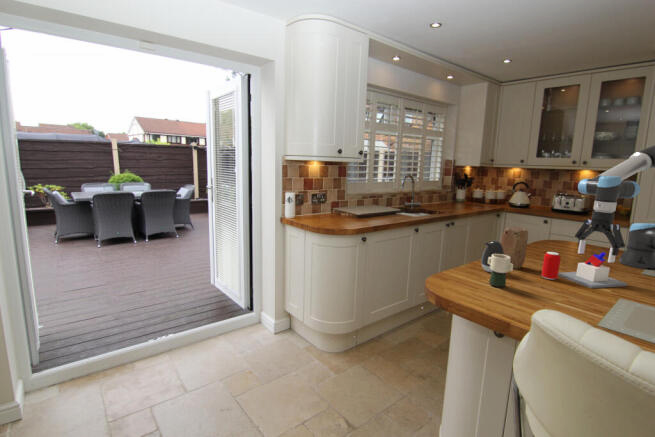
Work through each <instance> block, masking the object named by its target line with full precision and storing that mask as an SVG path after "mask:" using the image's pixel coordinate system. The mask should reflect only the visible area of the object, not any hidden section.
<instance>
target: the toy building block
mask: <svg viewBox="0 0 655 437" xmlns="http://www.w3.org/2000/svg"><path fill="white" fill-rule="evenodd" d="M606 255H607V254H606V252H604V251H602V252H601V253H599V254H597V253H596V254H592V255H591V256H590V257H589V258H588V259H587V260H586V261H585V262H584V263H585V264H593V265H594V266H596V267H598V266H601V265H602V266H603V264H604V263H605V262H606V259H604V257H605V256H606Z"/></svg>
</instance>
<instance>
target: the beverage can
mask: <svg viewBox="0 0 655 437" xmlns="http://www.w3.org/2000/svg"><path fill="white" fill-rule="evenodd" d="M560 266H561V255H560V254H559V253H558V252H556V251H555V252H554V251H547V252H546V253H545V254H544V256H543V263H542V270H541V277H543V278H544V279H546V280H550V281H551V280H552V281H553V280H554V281H555V280H556V279H558V277H559V276H558V273H559V269H560Z"/></svg>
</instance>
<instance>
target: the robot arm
mask: <svg viewBox="0 0 655 437" xmlns="http://www.w3.org/2000/svg"><path fill="white" fill-rule="evenodd" d="M654 168H655V144H654V145H651V146H648V147H645V148H642V149H641V150H639V151H636V152H634V153H633V154H631V155H630V156H629V158H628V159H626V160H624V161H622V162H621V163H619V164H617V165H615V166H613V167H611V168H610V169H608V170H605V171H604V172H602V173H600V174H598V175H596V176H595V177H592V178H588V177H587V178H583V179H581V180H579V181H578V184H577V188H578V190H577V191H578V192H579V193H580V194H582V195H591V196H595V197H594V202H593V203H594V204H593V211H592V215H591V218H590V219H589V218H588V219H584V221H583V224H582V225H581V226H580V227H579V229H578V230H577V232H576V233H575V235H574V237H575V238H577V239H578V242H577V246H578V250H577V254H580V255H581V254H583V255H584V254H585V250H586V249H585V248H586V244H587V243H586V242H587V240H586V238H588V237H589V236H590V235H591V234H593V233H594V232H598V233H603V234H604V235H605V236H606V238H607V240H608V242H609V244H611V247H610V249H609V254H608V259H607V263H615V261H616V257H617V256H618V255H619V250H620V249H623V248H625V247H626V248H625V250H624V251H623V252H622V254H621V256H620V257H619V260H618V262H619V263H620V264H623V265H624V266H629V267H632V268H638V269H643V270H648V269H647V268H655V223H650V222H649V223H648V222H647V223H645V222H644V223H643V222H642V223H641V222H635V223H632V224H631V225H630V227H629V231H628V232H629V233H628V236H627V237H628V238H627V242H626V244H625V242H624V238H623V235H622V232H621V225H620V224H613V222H614V219H615V215H616V214H615V212H616V208H617V204H618V199H623V198H624V199H631V198H634V197H635V198H636V197H637V196H638V195H639V194H640V192H641V186H640V184H639V183H638V182H636V181H634V180H633V181H632V180H626V179H627V178H629V177H631V176H633V175H636V174H637V173H639V172H642V171H647V170H648V169H654ZM590 225H591V226H590Z"/></svg>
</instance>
